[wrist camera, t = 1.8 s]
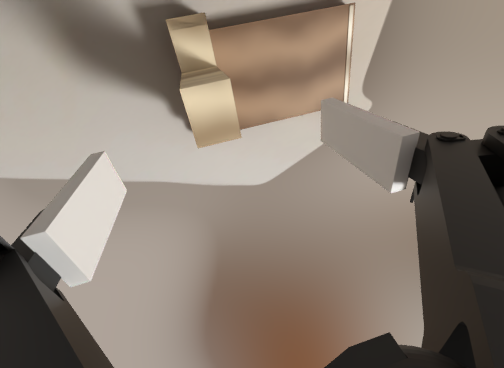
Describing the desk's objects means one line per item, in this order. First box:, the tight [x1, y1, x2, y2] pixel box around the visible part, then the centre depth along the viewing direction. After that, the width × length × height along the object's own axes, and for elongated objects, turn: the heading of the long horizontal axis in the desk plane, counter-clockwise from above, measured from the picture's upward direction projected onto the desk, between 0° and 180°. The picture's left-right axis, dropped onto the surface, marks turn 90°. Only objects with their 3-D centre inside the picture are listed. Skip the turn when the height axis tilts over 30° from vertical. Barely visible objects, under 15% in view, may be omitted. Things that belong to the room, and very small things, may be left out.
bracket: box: [166, 13, 242, 148], centre depth 24 cm, size 12×4×13 cm, turn 9°
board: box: [209, 3, 355, 130], centre depth 31 cm, size 12×22×2 cm, turn 99°
